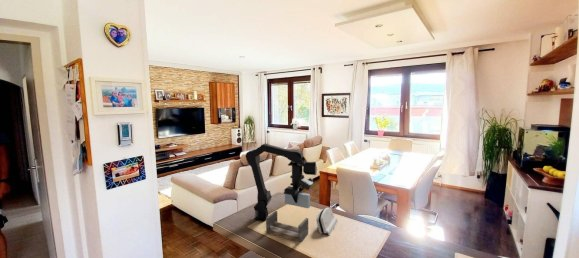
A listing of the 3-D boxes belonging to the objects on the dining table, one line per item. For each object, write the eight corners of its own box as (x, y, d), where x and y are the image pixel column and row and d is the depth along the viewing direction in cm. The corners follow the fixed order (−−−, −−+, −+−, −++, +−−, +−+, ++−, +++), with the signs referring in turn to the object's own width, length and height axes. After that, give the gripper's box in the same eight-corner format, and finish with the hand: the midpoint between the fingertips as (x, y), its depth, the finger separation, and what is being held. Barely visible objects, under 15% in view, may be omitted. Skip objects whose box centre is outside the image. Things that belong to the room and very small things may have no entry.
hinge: (329, 235, 119) (322, 216, 119) (320, 236, 121) (314, 217, 122) (337, 221, 134) (332, 203, 135) (329, 222, 136) (324, 204, 137)
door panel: (284, 203, 134) (284, 191, 133) (286, 202, 136) (286, 189, 135) (308, 208, 127) (308, 195, 127) (310, 206, 130) (310, 194, 129)
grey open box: (266, 232, 122) (266, 217, 121) (275, 225, 130) (275, 210, 129) (300, 242, 113) (300, 226, 112) (308, 233, 121) (308, 218, 120)
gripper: (303, 180, 118) (303, 211, 120) (317, 171, 134) (317, 198, 136) (283, 177, 123) (283, 207, 125) (299, 168, 140) (299, 195, 141)
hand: (297, 201), depth 132 cm, fingers closed on door panel, 2 cm apart
